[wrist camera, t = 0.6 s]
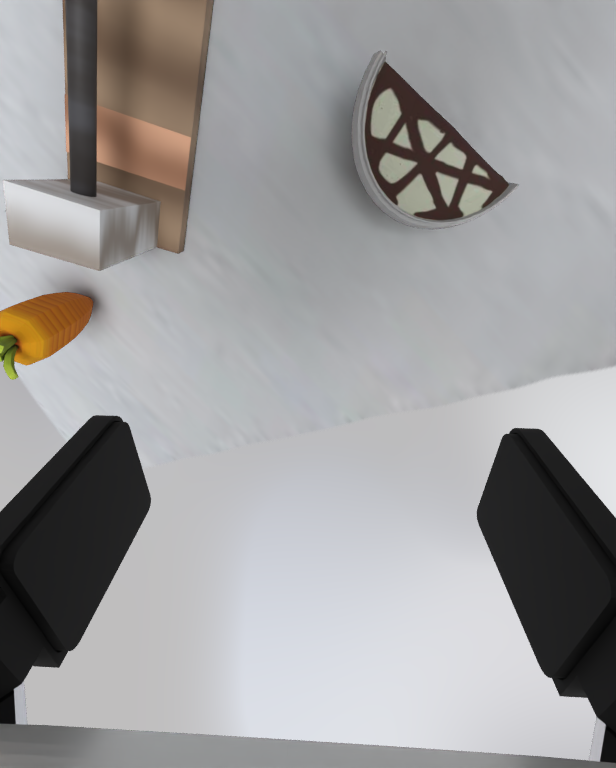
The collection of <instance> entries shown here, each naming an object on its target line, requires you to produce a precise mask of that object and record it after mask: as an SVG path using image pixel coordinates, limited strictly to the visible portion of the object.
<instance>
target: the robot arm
mask: <svg viewBox="0 0 616 768" xmlns="http://www.w3.org/2000/svg"><path fill="white" fill-rule="evenodd" d="M150 503H151V497H150V493H149V490H148V486H147V483H146V480H145V476H144V473H143V470H142V466H141V463H140V460H139V457H138V453H137V450H136V447H135V443H134V440H133V437H132V433H131V430H130V427H129V425H128V423H126V422H123V420H122V419H121V418H120V417H118V416H99V415H96V416H93V417H91V418H90V419H89V420H88V421H87V422H86V423H85V424H84V425H83V426H82V427H81V428H80V429H79V430H78V431H77V433H76V434H75V435H74V436H73V437H72V438H71V439H70V440H69V441H68V442H67V443H66V444H65V445H64V446H63V447H62V448H61V449H60V450H59V451H58V452H57V453H56V454H55V456H53V458H52V459H51V460H50V461H49V462H48V463H47V464H46V465H45V466H44V467H43V468H42V469H41V470H40V471H39V472H38V473H37V474H36V475H35V476H34V477H33V478H32V479H31V480H30V482H28V484H27V485H26V486H25V487H24V488H23V489H22V490H21V491H20V492H19V493H18V494H17V495H16V496H15V497H14V498H13V499H12V500H11V501H10V502H9V503H8V504H7V505H6V507H5V508H4V509H3V510H2V511H1V512H0V768H616V518H615V517H614V515H613V514H612V513H611V512H610V511H609V509H608V508H607V507H606V506H605V505H604V503H603V502H602V501H601V500H600V499H599V498H598V496H597V495H596V494H595V493H594V492H593V490H592V489H591V488H590V487H589V485H588V484H587V483H586V482H585V481H584V479H583V478H582V477H581V476H580V475H579V474H578V472H577V471H576V470H575V469H574V467H573V466H572V465H571V464H570V463H569V461H568V460H567V459H566V458H565V457H564V455H563V454H562V453H561V452H560V451H559V449H558V448H557V447H556V446H555V445H554V443H553V442H552V441H551V440H550V439H549V437H548V436H547V435H546V434H545V433H544V432H543V431H542V430H540V429H524V428H523V429H522V428H514V429H512V430H511V431H510V433H509V434H505V435H504V436H503V437H502V440H501V443H500V446H499V448H498V451H497V454H496V457H495V460H494V463H493V466H492V468H491V472H490V474H489V477H488V480H487V483H486V486H485V489H484V491H483V495H482V497H481V500H480V503H479V506H478V509H477V520H478V523H479V526H480V528H481V531H482V533H483V535H484V537H485V540H486V542H487V545H488V547H489V549H490V551H491V554H492V556H493V559H494V561H495V563H496V565H497V568H498V570H499V573H500V575H501V577H502V580H503V582H504V584H505V587H506V589H507V591H508V593H509V596H510V598H511V600H512V603H513V605H514V607H515V609H516V612H517V614H518V617H519V619H520V621H521V624H522V626H523V628H524V631H525V633H526V635H527V638H528V640H529V642H530V645H531V647H532V649H533V652H534V654H535V656H536V659H537V661H538V663H539V665H540V667H541V669H542V671H543V672H544V674H545V675H546V676H548V677H550V678H552V679H553V681H554V684H555V686H556V688H557V690H558V693H559V695H560V696H567V697H584V698H588V700H589V702H590V703H591V706H592V708H593V710H594V712H595V714H596V716H597V717H596V723H595V728H594V734H593V739H592V745H591V750H590V756H589V761H586V760H575V759H563V758H552V757H540V756H526V755H510V754H496V753H482V752H467V751H453V750H437V749H422V748H409V747H393V746H379V745H363V744H347V743H346V744H345V743H332V742H316V741H300V740H285V739H269V738H251V737H236V736H219V735H204V734H187V733H170V732H153V731H135V730H117V729H101V728H84V727H65V726H48V725H27V713H26V700H25V687H24V679H25V678H26V676H27V674H28V673H29V671H30V669H31V667H32V666H40V667H58V668H59V667H60V665H61V663H62V661H63V660H64V658H65V656H66V654H67V652H68V651H71V650H73V649H74V648H75V647H76V646H77V645H78V643H79V642H80V640H81V638H82V636H83V634H84V632H85V630H86V628H87V627H88V625H89V623H90V621H91V619H92V617H93V615H94V613H95V611H96V610H97V608H98V606H99V604H100V602H101V600H102V598H103V596H104V594H105V592H106V591H107V589H108V587H109V585H110V583H111V581H112V579H113V577H114V575H115V573H116V571H117V570H118V568H119V566H120V564H121V562H122V560H123V558H124V556H125V554H126V553H127V551H128V549H129V547H130V545H131V543H132V541H133V539H134V537H135V535H136V533H137V532H138V530H139V528H140V526H141V524H142V522H143V520H144V518H145V517H146V515H147V513H148V511H149V508H150Z"/></svg>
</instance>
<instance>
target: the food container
mask: <svg viewBox="0 0 616 768" xmlns="http://www.w3.org/2000/svg"><path fill="white" fill-rule="evenodd" d="M386 54H387V51H385V52H384V54H383V53H382V52H381V51H379V52H377V53H375V54H374V55H373V57H372V59H371V61H370V63H369V65H368V67H367V69H366V71H365V73H364V76H363V78H362V81H361V84H360V86H359V89H358V93H357V97H356V101H355V105H354V110H353V119H352V149H353V155H354V161H355V165H356V168H357V171H358V175H359V178H360V180H361V182H362V184H363V186H364V188H365V190H366V192H367V193H368V195H369V196H370V197H371V199H372V200H373V202H374V203H375V204H376V205H377V206H378V207H379V208H380V209H381V210H382V211H383V212H384V213H386V214H387V215H389V216H390V217H391V218H393V219H394V220H396V221H398V222H401V223H403V224H405V225H408V226H412V227H416V228H421V229H441V228H448V227H452V226H456V225H460V224H463V223H466V222H468V221H471V220H473V219H476V218H478V217H480V216H482V215H483V214H485V213H487V212H489V211H490V210H492V209H493V208H495V207H496V206H497V205H499V204H500V203H501V202H503V201H504V200H505V199H506V198H507V197H508V196H509V195H510V194H511V193H512V192H513V191H514V190H515V189H516V188H517V187H518V186H519V184H514V183H508V182H506V181H505V180H504V178H503V177H502V176H501V175H499V174H498V173H497V172H496V171H495V170H494V169H493V168H492V167H491V166H490V165H489V164H488V163H487V162H486V161H485V160H484V159H483V158H482V157H481V156H480V155H479V154H478V153H477V152H476V151H475V150H474V149H473V148H472V147H471V146H470V145H469V144H468V143H467V141H466V140H465V139H464V138H463V137H462V136H461V135H460V134H459V133H458V132H457V131H456V130H455V128H454V127H453V126H452V125H451V124H450V123H448V122H447V121H446V120H445V119H444V118H443V117H442V116H441V115H440V114H439V113H438V112H436V111H435V110H434V109H433V108H432V107H431V106H430V105H429V104H428V103H427V102H426V101H425V100H424V99H423V98H422V97H421V96H420V95H419V94H418V93H417V92H416V91H415V90H414V89H413V88H412V87H411V86H410V85H409V84H408V83H407V82H406V81H405V80H404V79H403V78H402V77H401V76H400V75H399V74H398V73H397V72H396V71H395V70H394V69H393V68H392V67H391V66H389V65H388V64H387V63H386V62H385V60H386Z"/></svg>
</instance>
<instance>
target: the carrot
mask: <svg viewBox="0 0 616 768" xmlns="http://www.w3.org/2000/svg"><path fill="white" fill-rule="evenodd" d="M92 307H93V301H92V300H91V298H89V297H87V296H84V295H80V294H77V293H70V292H62V293H53V294H47V295H42V296H39V297H36V298H33V299H30V300H27V301H24V302H22V303H19V304H16V305H13V306H11V307H9V308H6V309H4V310H2V311H0V362H1V361H3V360H4V365H3V366H4V369H5V371H6V373H7V375H8V376H9V378H10V379H12V380H13V379H16V378H17V377H18V375H17V372H16V370H15V368H14V361H15V362H18V363H21V364H24V365H30V364H33V363H35V362H38V361H40V360H42V359H45V358H47V357H49V356H51V355H53V354H54V353H55V352H57V351H58V350H60V349H61V348H62V347H64V346H65V345H67V344H68V343H69V342H70V341H72V340H73V339H74V338H75V337H76V336H77V335H78V334H79V333H80V332H81V331H82V330H83V328H84V327H85V326H86V325H87V323H88V321H89V319H90V316H91V313H92Z"/></svg>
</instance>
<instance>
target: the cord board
mask: <svg viewBox="0 0 616 768" xmlns="http://www.w3.org/2000/svg"><path fill="white" fill-rule="evenodd" d="M213 1H214V0H63V29H64V62H65V121H66V152H67V162H68V179H59V180H3V188H4V197H5V206H6V215H7V224H8V233H9V242H10V245H13V246H17V247H20V248H23V249H27V250H30V251H34V252H37V253H40V254H44V255H47V256H50V257H54V258H57V259H61V260H64V261H67V262H71V263H74V264H77V265H81V266H84V267H87V268H91V269H94V270H98V271H101V270H103V269H106V268H108V267H110V266H113V265H115V264H118V263H120V262H122V261H125V260H127V259H130V258H132V257H134V256H137V255H139V254H142V253H144V252H146V251H149V250H151V249H154V248H156V247H158V248H161V249H164V250H168V251H171V252H174V253H177V254H179V253H180V252H182V251H184V243H185V234H186V226H187V218H188V209H189V201H190V193H191V184H192V176H193V168H194V159H195V151H196V143H197V135H198V126H199V118H200V110H201V101H202V93H203V85H204V76H205V68H206V60H207V51H208V43H209V35H210V26H211V18H212V10H213Z"/></svg>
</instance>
